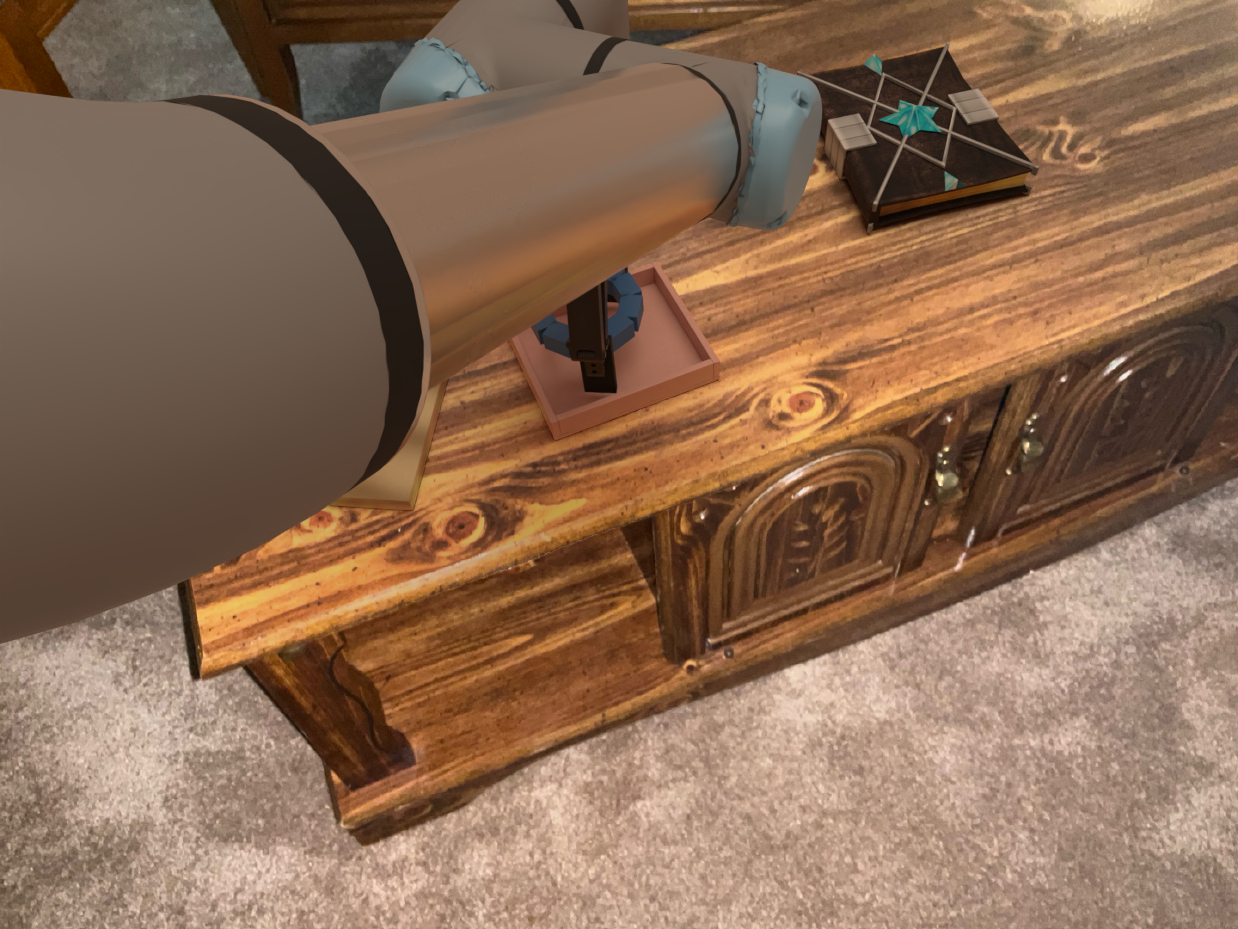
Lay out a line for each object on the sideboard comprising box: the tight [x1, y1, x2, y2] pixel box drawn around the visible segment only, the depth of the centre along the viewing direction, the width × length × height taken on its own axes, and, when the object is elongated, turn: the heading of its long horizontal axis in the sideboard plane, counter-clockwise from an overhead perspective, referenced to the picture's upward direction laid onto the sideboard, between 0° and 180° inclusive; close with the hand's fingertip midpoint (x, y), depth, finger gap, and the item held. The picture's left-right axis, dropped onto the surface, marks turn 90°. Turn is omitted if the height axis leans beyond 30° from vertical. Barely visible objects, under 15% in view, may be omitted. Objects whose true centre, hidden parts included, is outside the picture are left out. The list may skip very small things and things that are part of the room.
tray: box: [508, 260, 721, 441], centre depth 84 cm, size 15×13×2 cm
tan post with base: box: [329, 378, 449, 511], centre depth 70 cm, size 14×14×30 cm
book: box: [796, 41, 1041, 234], centre depth 95 cm, size 22×17×5 cm
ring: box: [531, 269, 644, 358], centre depth 80 cm, size 9×10×2 cm
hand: (608, 342), depth 84 cm, fingers closed on ring, 9 cm apart
